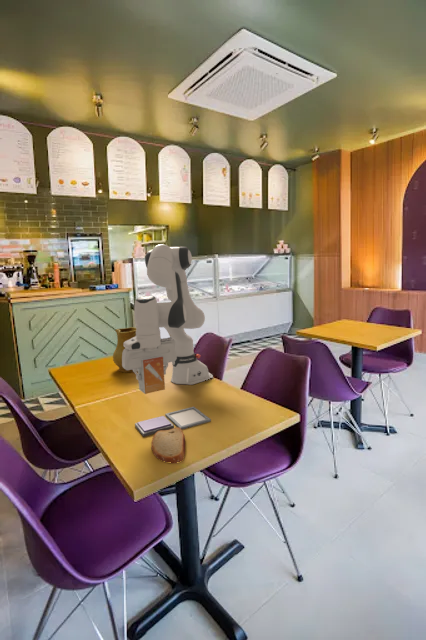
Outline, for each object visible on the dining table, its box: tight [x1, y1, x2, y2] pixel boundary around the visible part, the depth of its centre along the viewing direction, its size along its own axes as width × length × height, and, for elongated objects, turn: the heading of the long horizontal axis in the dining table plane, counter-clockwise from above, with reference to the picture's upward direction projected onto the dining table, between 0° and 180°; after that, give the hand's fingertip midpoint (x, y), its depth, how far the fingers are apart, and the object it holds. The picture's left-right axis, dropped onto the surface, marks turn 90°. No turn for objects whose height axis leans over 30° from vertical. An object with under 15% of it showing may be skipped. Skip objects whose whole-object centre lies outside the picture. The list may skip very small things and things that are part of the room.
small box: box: [137, 356, 166, 395], centre depth 132 cm, size 8×6×13 cm
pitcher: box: [112, 326, 136, 373], centre depth 210 cm, size 17×19×25 cm
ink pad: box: [134, 415, 175, 437], centre depth 135 cm, size 12×10×2 cm
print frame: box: [164, 406, 212, 430], centre depth 142 cm, size 13×15×1 cm
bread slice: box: [150, 427, 186, 464], centre depth 121 cm, size 18×18×4 cm
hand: (151, 376), depth 132 cm, fingers closed on small box, 8 cm apart
